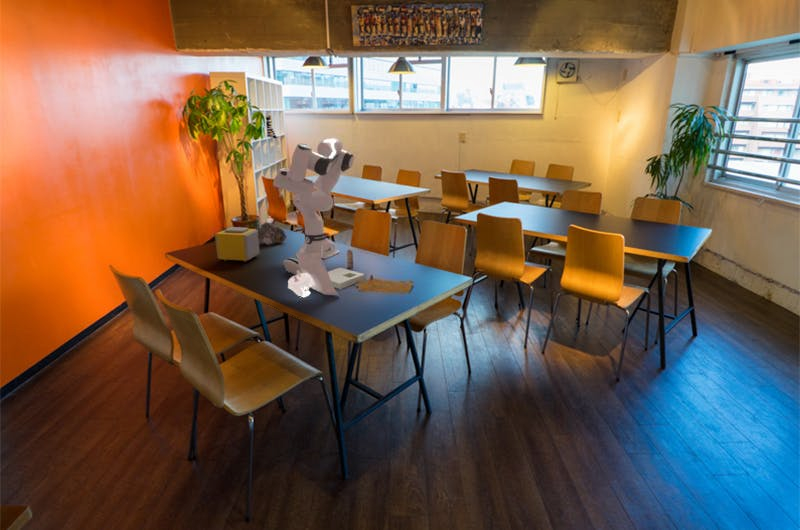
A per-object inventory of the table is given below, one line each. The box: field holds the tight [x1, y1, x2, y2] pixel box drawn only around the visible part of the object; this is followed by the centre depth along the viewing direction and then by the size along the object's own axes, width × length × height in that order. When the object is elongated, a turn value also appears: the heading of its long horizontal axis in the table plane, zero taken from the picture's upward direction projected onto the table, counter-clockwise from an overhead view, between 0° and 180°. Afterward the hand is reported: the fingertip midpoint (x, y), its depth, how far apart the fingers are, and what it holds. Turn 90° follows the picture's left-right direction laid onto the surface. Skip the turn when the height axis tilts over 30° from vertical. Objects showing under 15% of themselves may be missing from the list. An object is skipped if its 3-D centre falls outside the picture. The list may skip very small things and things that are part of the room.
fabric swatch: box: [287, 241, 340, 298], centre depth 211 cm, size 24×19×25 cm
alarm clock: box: [214, 226, 261, 263], centre depth 267 cm, size 20×16×18 cm
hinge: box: [282, 257, 302, 276], centre depth 243 cm, size 17×5×10 cm, turn 45°
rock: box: [257, 221, 287, 246], centre depth 304 cm, size 18×14×15 cm
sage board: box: [327, 267, 366, 290], centre depth 234 cm, size 18×18×3 cm
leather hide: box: [354, 274, 414, 295], centre depth 223 cm, size 29×26×5 cm
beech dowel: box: [346, 249, 354, 269], centre depth 253 cm, size 3×3×11 cm
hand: (289, 199), depth 241 cm, fingers open, 8 cm apart
